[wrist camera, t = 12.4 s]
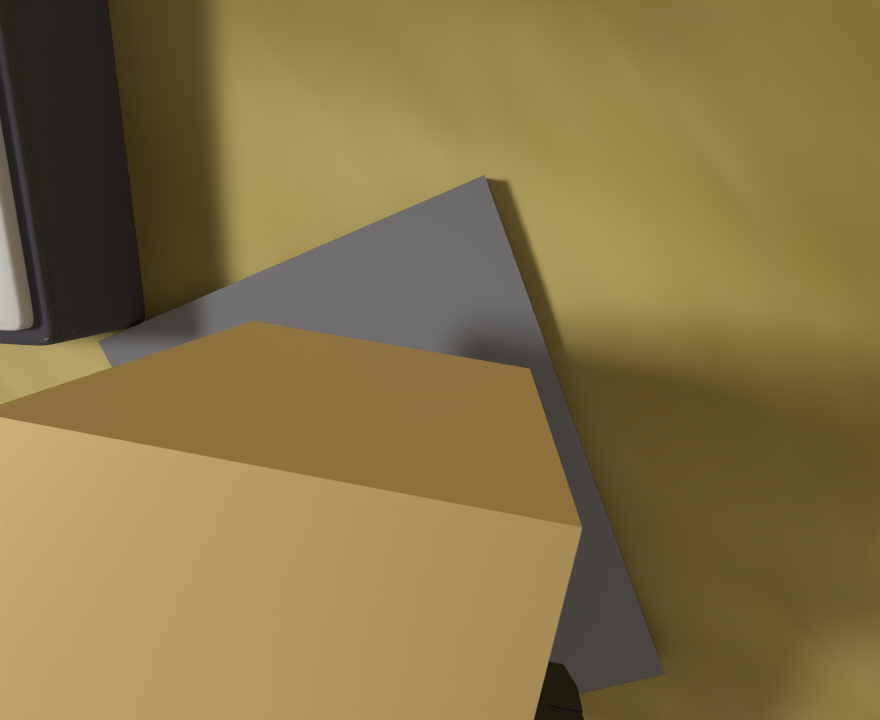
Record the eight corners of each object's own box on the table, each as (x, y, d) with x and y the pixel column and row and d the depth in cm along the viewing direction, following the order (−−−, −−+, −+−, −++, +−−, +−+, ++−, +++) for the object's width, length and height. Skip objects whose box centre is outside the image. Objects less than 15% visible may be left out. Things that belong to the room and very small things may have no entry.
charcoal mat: (112, 338, 16) (98, 341, 16) (484, 178, 14) (484, 175, 14) (325, 738, 19) (320, 753, 19) (658, 659, 17) (664, 673, 17)
